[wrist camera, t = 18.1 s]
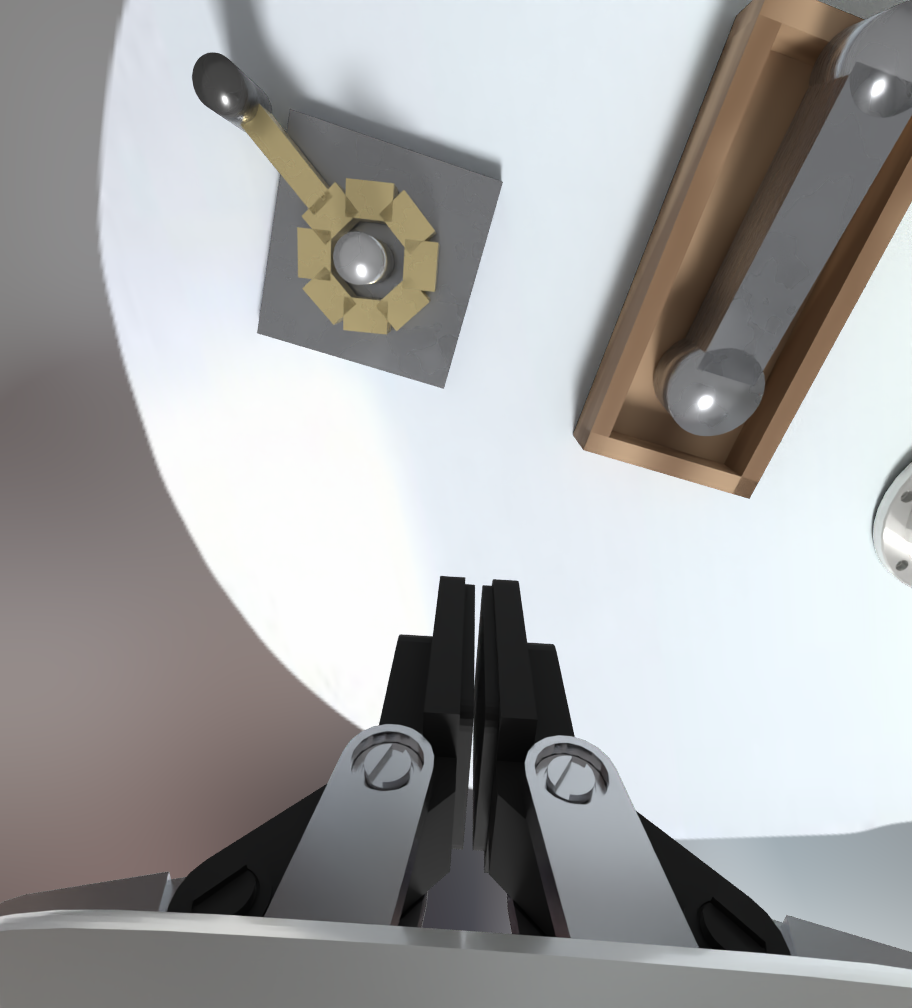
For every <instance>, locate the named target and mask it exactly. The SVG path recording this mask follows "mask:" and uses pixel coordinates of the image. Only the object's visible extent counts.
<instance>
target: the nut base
mask: <svg viewBox="0 0 912 1008" xmlns="http://www.w3.org/2000/svg"><path fill="white" fill-rule="evenodd" d="M287 134H288V135H289V137H290V138H291V139H292V140H293V142H294V143H295V144H296V145H297V147H298V148H299V149H300V150H301V152H302V153H303V154H304V155H305V157H306V158H307V159H308V161H309V162H310V163H311V164H312V166H313V167H314V168H315V169H316V171H317V172H318V173H319V174H320V176H321V177H322V178H323V179H324V181H325V182H326V183H327V184H328V186H329V187H331V186H332V185H333V184H334V183H335V182H336V183H337V184H339V185H340V186H341V187H343V189H344V190H345V191H346V178H350V179H359V180H368V181H377V182H386V183H394V184H395V186H396V187H397V188H398V195H399V194H400V193H401V192H402V191H403V190H405V191H406V193H407V194H408V195H409V197H410V198H411V199H412V201H413V202H414V203H415V205H416V206H417V207H418V209H419V210H420V211H421V213H422V214H423V215H424V217H425V218H426V219H427V221H428V222H429V223H430V225H431V226H432V227H433V229H434V230H435V232H436V234H435V235H434V236H433V237H432V238H431V239H430V240H429V241H428V242H438V243H439V244H440V246H439V259H438V272H437V285H436V291H435V292H431V291H424V292H425V293H426V294H427V295H428V297H429V298H430V299H431V301H430V302H429V303H428V304H427V305H426V306H425V307H424V308H422V309H421V310H420V311H419V312H418V313H417V314H416V315H415V316H413V317H412V318H411V319H410V320H409V321H408V322H407V323H405V324H404V325H403V326H402V327H401V328H400V329H399V330H398V331H396V330H395V329H394V328H393V327H392V325H391V332H389V333H388V334H387V335H386V334H377V333H367V332H357V331H348V330H343V320H342V321H341V322H340V323H337V324H335V325H333V324H332V322H331V321H330V320H329V319H328V318H327V317H326V316H325V314H324V313H323V312H322V311H321V310H320V309H319V307H318V306H317V305H316V304H315V303H314V302H313V300H312V299H311V298H310V297H309V296H308V295H307V293H306V292H305V291H304V290H303V289H302V288H303V287H304V286H305V285H306V284H307V283H309V282H310V281H311V280H312V279H308V278H298V238H297V227H299V228H309V229H312V228H311V227H310V226H309V225H308V223H307V222H306V221H305V220H304V219H303V217H302V215H303V214H304V213H305V212H306V211H307V210H308V209H309V208H308V207H307V206H306V205H305V204H304V202H303V201H302V200H301V199H300V197H299V196H298V195H297V194H296V193H295V191H294V190H293V189H292V188H291V186H290V185H289V184H288V183H287V181H286V180H285V179H284V178H283V177H282V175H280V181H279V188H278V195H277V202H276V209H275V215H274V222H273V229H272V236H271V243H270V249H269V256H268V263H267V270H266V277H265V283H264V290H263V297H262V304H261V311H260V317H259V324H258V331H257V333H259V334H262V335H265V336H269V337H272V338H275V339H279V340H282V341H285V342H289V343H292V344H296V345H299V346H302V347H306V348H309V349H312V350H316V351H319V352H322V353H326V354H329V355H333V356H336V357H339V358H343V359H346V360H349V361H353V362H356V363H359V364H363V365H366V366H370V367H373V368H376V369H380V370H383V371H386V372H390V373H393V374H396V375H400V376H403V377H406V378H410V379H413V380H417V381H420V382H423V383H427V384H430V385H433V386H437V387H440V388H443V389H444V386H445V382H446V379H447V375H448V372H449V368H450V365H451V361H452V358H453V354H454V351H455V347H456V344H457V340H458V337H459V333H460V330H461V326H462V323H463V319H464V316H465V312H466V309H467V305H468V302H469V298H470V295H471V291H472V288H473V284H474V281H475V277H476V274H477V270H478V267H479V263H480V260H481V256H482V253H483V249H484V246H485V242H486V239H487V235H488V232H489V228H490V225H491V221H492V218H493V214H494V211H495V207H496V204H497V200H498V197H499V193H500V190H501V186H502V183H503V182H502V181H499V180H496V179H493V178H490V177H487V176H484V175H481V174H478V173H475V172H472V171H470V170H467V169H464V168H461V167H458V166H455V165H452V164H449V163H446V162H443V161H440V160H437V159H434V158H432V157H429V156H426V155H423V154H420V153H417V152H414V151H411V150H408V149H405V148H402V147H399V146H396V145H394V144H391V143H388V142H385V141H382V140H379V139H376V138H373V137H370V136H367V135H364V134H361V133H358V132H356V131H353V130H350V129H347V128H344V127H341V126H338V125H335V124H332V123H329V122H326V121H323V120H320V119H318V118H315V117H312V116H309V115H306V114H303V113H300V112H297V111H294V110H291V109H290V113H289V120H288V127H287ZM404 250H405V247H404V246H403V245H402V243H401V242H400V241H399V240H398V238H397V237H396V236H395V234H394V233H393V232H392V231H391V229H390V228H389V227H388V225H387V224H381V223H372V222H363V221H359V222H358V223H357V224H356V225H355V226H354V227H353V228H352V229H351V230H350V231H349V232H348V233H347V234H345V235H343V236H342V237H341V238H340V239H339V240H338V241H337V243H336V245H335V248H334V252H333V261H334V265H335V268H336V270H337V272H338V273H339V275H340V276H341V277H342V278H343V279H344V281H345V282H346V283H347V284H348V285H349V287H350V288H351V289H352V290H353V291H354V293H355V294H356V295H357V296H360V297H370V298H379V299H383V298H384V297H385V296H386V295H387V294H389V293H390V292H391V291H392V290H393V289H394V288H395V287H396V286H397V285H398V284H399V283H401V282H402V281H403V268H404Z"/></svg>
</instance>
